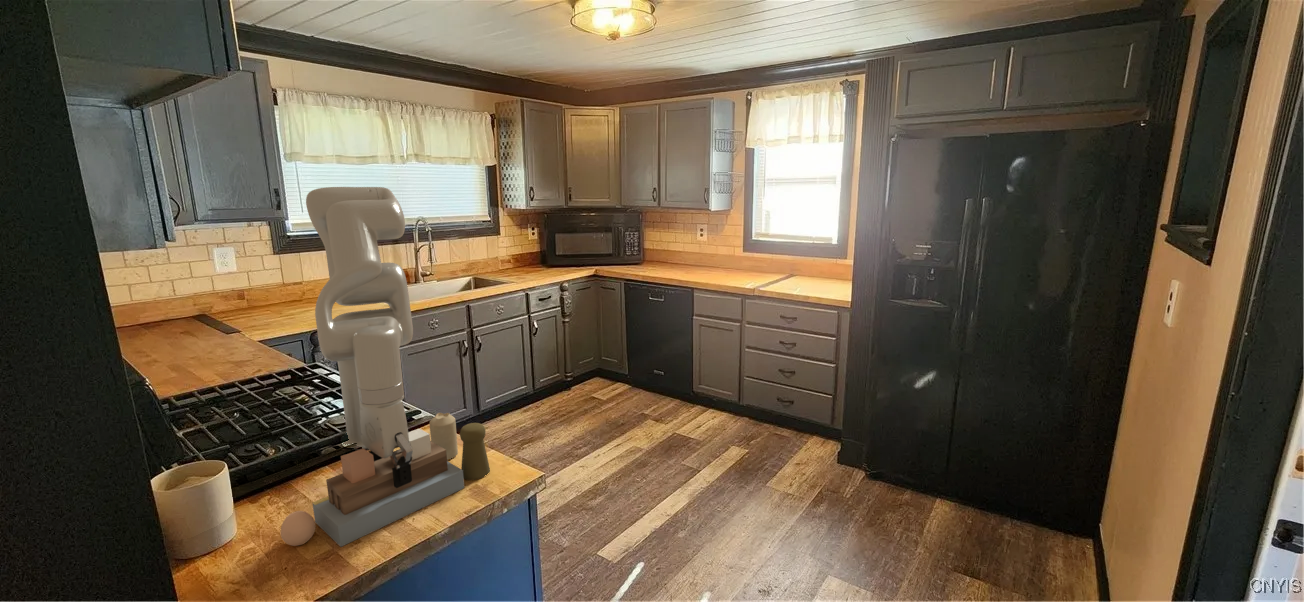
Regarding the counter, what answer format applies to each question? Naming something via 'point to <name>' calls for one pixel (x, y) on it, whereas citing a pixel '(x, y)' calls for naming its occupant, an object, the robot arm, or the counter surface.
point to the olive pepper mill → (474, 452)
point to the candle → (444, 433)
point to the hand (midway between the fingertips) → (390, 475)
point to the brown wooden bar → (383, 481)
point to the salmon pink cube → (358, 465)
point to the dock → (385, 507)
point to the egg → (297, 528)
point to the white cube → (419, 443)
